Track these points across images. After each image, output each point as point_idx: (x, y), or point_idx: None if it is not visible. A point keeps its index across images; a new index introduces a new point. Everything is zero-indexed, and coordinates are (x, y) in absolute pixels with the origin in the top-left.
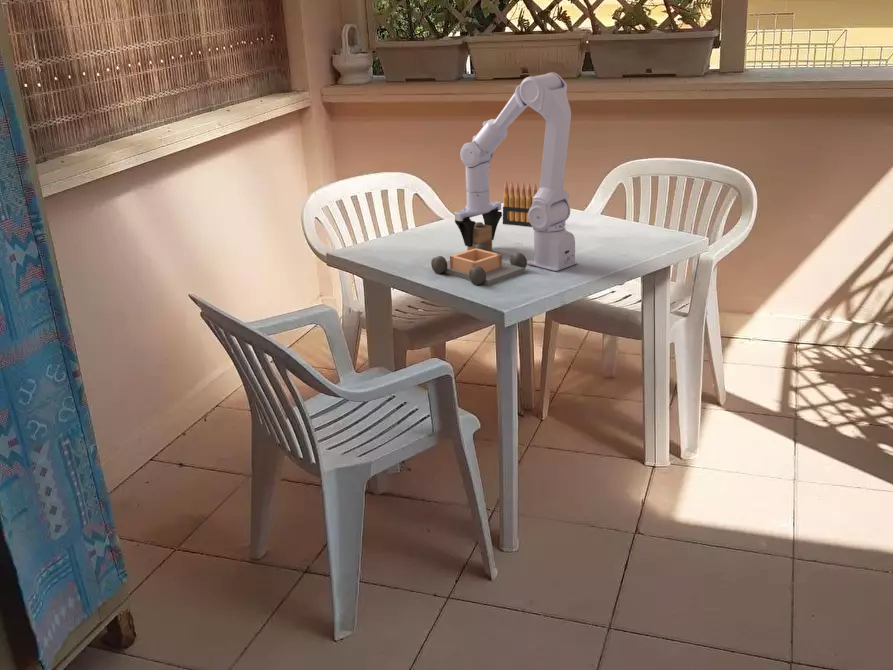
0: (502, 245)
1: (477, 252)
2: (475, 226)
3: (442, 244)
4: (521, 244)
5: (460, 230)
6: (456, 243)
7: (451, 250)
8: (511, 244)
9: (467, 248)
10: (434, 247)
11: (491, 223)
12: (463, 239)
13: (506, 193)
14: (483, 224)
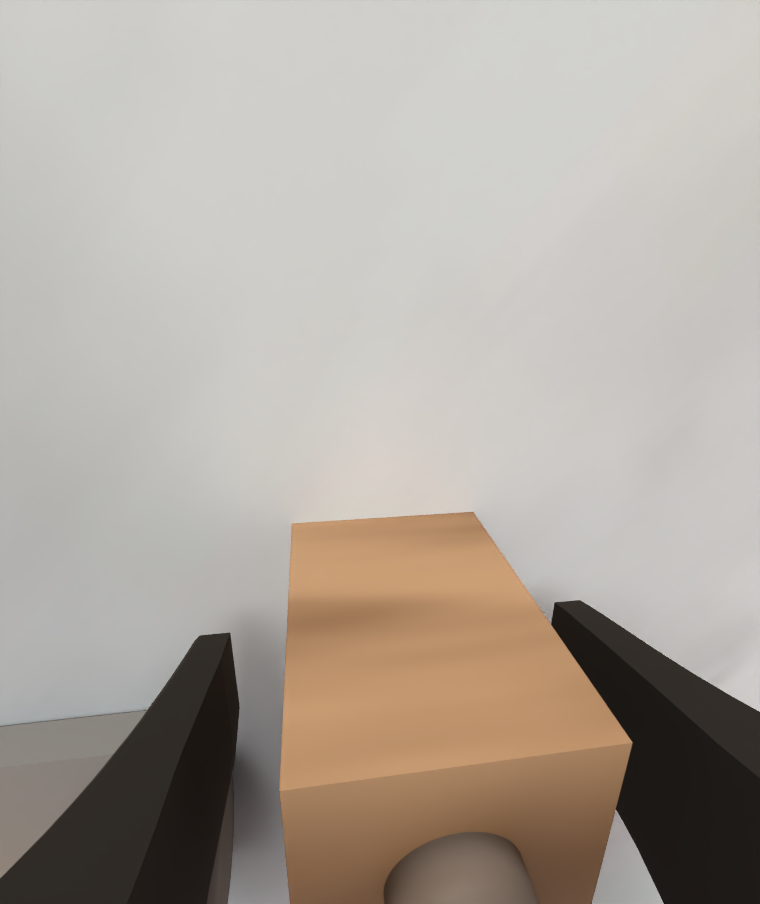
0: (628, 604)
1: None
2: (389, 889)
3: (271, 14)
4: (717, 677)
5: (41, 853)
6: (435, 170)
7: (181, 365)
8: (686, 631)
9: (291, 542)
10: (74, 30)
11: (686, 880)
12: (161, 693)
13: None
14: (591, 840)
